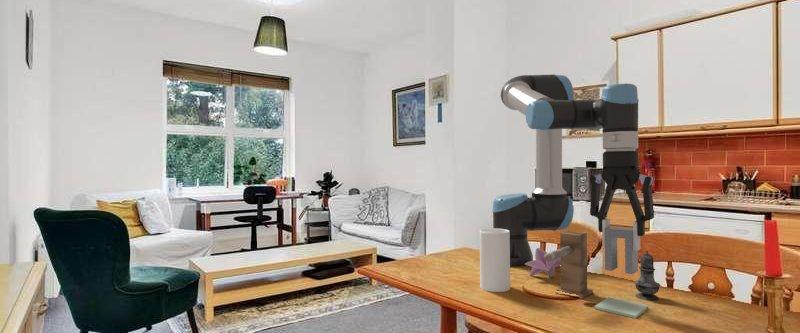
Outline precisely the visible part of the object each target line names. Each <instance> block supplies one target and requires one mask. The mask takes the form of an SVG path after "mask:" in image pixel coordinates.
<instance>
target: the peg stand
mask: <svg viewBox="0 0 800 333" xmlns="http://www.w3.org/2000/svg"><path fill="white" fill-rule="evenodd" d="M559 236H560V237H559V238H560V240H559V241H560V242H559V245H560V248H558V249H556V250H553V251H550V252H547V254H545V255H544V259H545V260H546V261H547V262H550V261H553V260H555V259H558V258H561V265H560V287H558V288H555V289H554V290H557V291H562V292H565V293H569V294H576V295H579V296H580V297H579V298H578V299H579V300H583V299H584V298H586V297H588V296H590V295H591V294H593V292H594V288H589V287H588V233H587V232H584V231H583V232H582V231H573V230H566V231H563V232H560V235H559Z"/></svg>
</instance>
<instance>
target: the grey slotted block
mask: <svg viewBox="0 0 800 333" xmlns="http://www.w3.org/2000/svg"><path fill="white" fill-rule="evenodd" d="M618 239H623V240H624V253H625V254H624V269H625V270H624V274H628V275H635V273H637V272H639V266H638V265H639V259H638V258H639V255H638V254H639V252H638V251H639V250H638V251H633V227H623V226H612V225H610V226H609V227H606V228H605V247H604V270H605V271H609V272H612V271H614V270H616V269H618Z"/></svg>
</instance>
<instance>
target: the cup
mask: <svg viewBox="0 0 800 333" xmlns="http://www.w3.org/2000/svg"><path fill="white" fill-rule="evenodd" d="M479 287H480V289H481V290H483V291H486V292H489V293H490V292H491V293H502V292H503V293H504V292H509V291H510V290H511V266H510V232H509V230H506V229H498V228H493V227H492V228H491V227H490V228H489V227H488V228H481V229H479Z"/></svg>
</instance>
